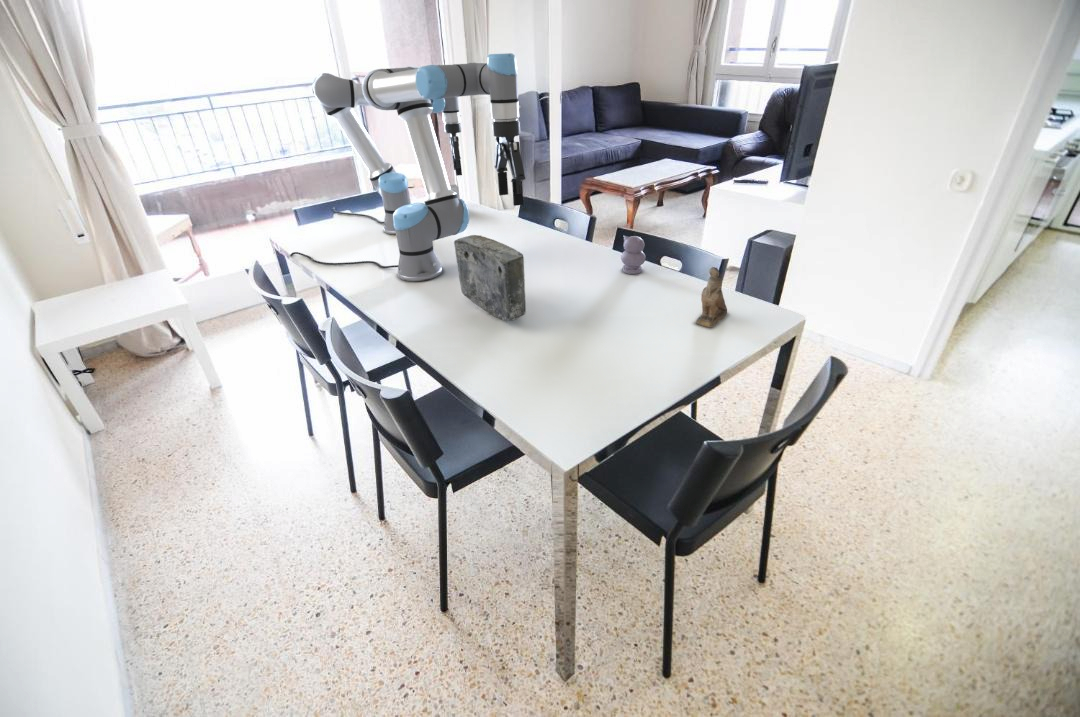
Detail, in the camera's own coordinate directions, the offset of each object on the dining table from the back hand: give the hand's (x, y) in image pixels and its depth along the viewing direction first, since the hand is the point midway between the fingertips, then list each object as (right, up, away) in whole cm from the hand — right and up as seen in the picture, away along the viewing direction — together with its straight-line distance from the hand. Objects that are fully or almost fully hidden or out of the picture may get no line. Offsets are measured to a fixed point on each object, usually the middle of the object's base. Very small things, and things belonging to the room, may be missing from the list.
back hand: (458, 172), depth 234 cm
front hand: (+30, -41, -88) cm, 102 cm away
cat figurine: (+71, -58, -63) cm, 111 cm away
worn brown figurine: (+87, -77, -95) cm, 150 cm away
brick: (-6, -12, +16) cm, 21 cm away
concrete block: (+25, -74, -86) cm, 116 cm away
